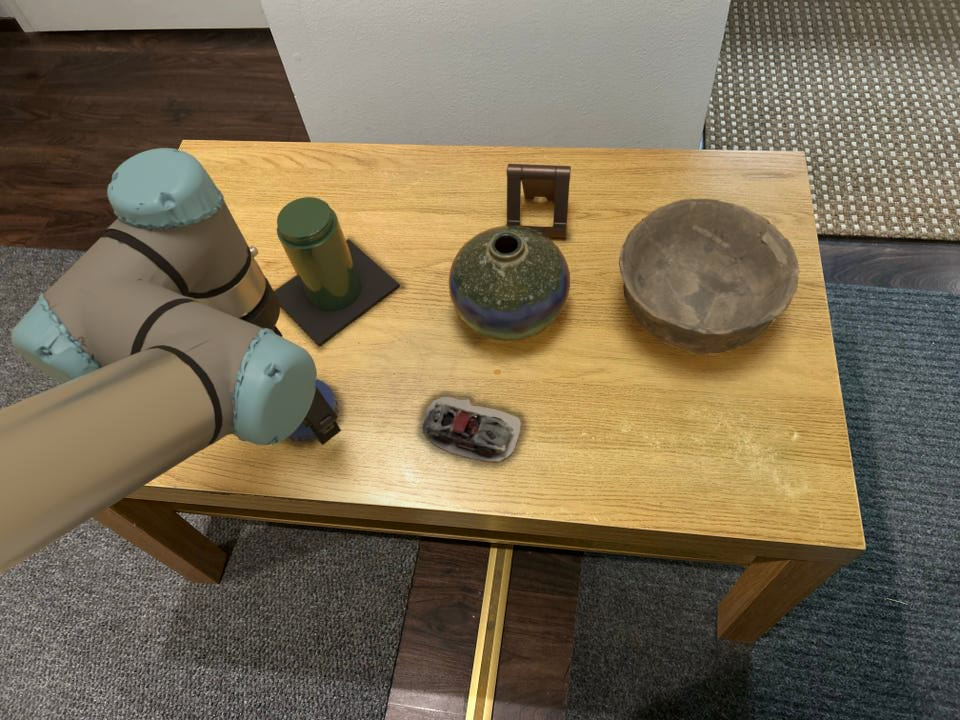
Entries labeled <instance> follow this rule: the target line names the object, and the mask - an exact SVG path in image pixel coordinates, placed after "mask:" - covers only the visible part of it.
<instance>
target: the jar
mask: <svg viewBox="0 0 960 720" xmlns="http://www.w3.org/2000/svg"><path fill="white" fill-rule="evenodd" d="M276 225H277V227H276V234H277V238H278V240H279V243H280V244H281V246H282V248H283V251H284V252H285V254H286V256H287V258H288V261H289V262H290V265H291V267H292V268H293V270H294V273H295V275H297V276H298V279H299V281H300V283H301V285H302V287H303V289H304V291H305V293H306V295H307V297H308V299H309V301H310V302H311V304H312V305H313V306H314V307H316V308H318V309H320V310H323V311H337V310H341V309H344V308H346V307H348V306H349V305H351V304H352V303H353V302H354V301H355V300H356V299H357V297H358V296H359V294H360V292H361V280H360V277H359V275H358V272H357V269H356V267H355V264H354V261H353V258H352V256H351V253H350V250H349V248H348V245H347V242H346V240H347V239H346V236H345V235H344V234H345V233H344V231H343V229H342V227H341V224H340V221H339V218H338V216H337V213H336V211H335V210H334V209H333V208H331V206H330V205H329V203H328V202H326V201H325V200H323V199H321V198H318V197H314V196H306V197H300V198H296V199H294V200H291V201H290V202H288V203H287V204H286V205H284V206H283V207H282V208H281V209H280V211H279V212H278V215H277V218H276Z"/></svg>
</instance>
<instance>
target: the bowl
mask: <svg viewBox="0 0 960 720" xmlns="http://www.w3.org/2000/svg"><path fill="white" fill-rule="evenodd" d="M619 252H620V253H619V259H618V267H619V272H620V276H621V279H622V282H623V283H622V293H623V298H624V301H625V304H626V307H627V308H628V310H629V312H630V314H631V315H632V317H633V319H634V320H635V322H636V323H637V324H638V325H639V327H641V328H642V329H643V330H644V332H646V333H647V334H648V335H649V336H651V337H652V338H653V339H656V340H658V341H659V342H661V343H664V344H666V345H669V346H670V347H672V348H675V349H679V350H682V351H684V352H687V353H689V354H690V353H691V354H693V355H695V356H705V355H707V356H708V355H716V354H724V353H728V352H732V351H735V350H738V349H739V348H741V347H744V346H748V345H749V344H752V343H753V342H755V341H757V340H758V339H759V338H760V337H762V335H764V334H765V333H766V331H767V330H768V329H769V328H770V327H771V325H772V324H773V323H774V320H776V319H777V318H778V317H780V316H781V315H783V314H784V312H785V311H786V310H787V309H788V307H789V306H790V305H791V303H792V301H793V299H794V296H795V294H796V292H797V290H798V285H799V274H800V265H799V260H798V257H797V255H796V252H795V249H794V248H793V245H792V243H791V241H790V240H789V239H788V238H786V237H785V236H784V234H783V233H782V232H781V231H780V230H779V229H778V228H777V227H776V225H774V224H772V223H771V222H770V220H769V219H767V218H766V217H764V216H762V215H759V214H758V213H757V212H754V211H752V210H751V209H749V208H747V207H746V206H743V205H739V204H736V203H732V202H728V201H722V200H719V199H713V198H692V197H689V198H684V199H680V200H679V199H678V200H676V201H673V202H670V203H667V204H665V205H662V206H659V207H658V208H656V209H654V210H652V211H651V212H650V213H648V214H647V215H646V216H644V217H643V218H642V220H640V221H639V222H637V223H636V224H635V225H634V227H633V228H632V229H631V230H630V232H629V233H628V234H627V235H626V238H625V240H624V242H623V244H622V246H621V248H620V251H619Z"/></svg>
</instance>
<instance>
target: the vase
mask: <svg viewBox="0 0 960 720" xmlns="http://www.w3.org/2000/svg"><path fill="white" fill-rule="evenodd" d="M522 226H523V225H522ZM522 226H505V225H501V226H495V227H491V228H487V229H486V230H483V231H481V232H479V233H477V234H475V235H474V236H473V237H471V238H470V239H469V240H468V241H466V242H465V243H464V245H462V246H461V247H460V249H459V250H458V252H457V253H456V254H455V257H454V259H453V261H452V263H451V266H450V269H449V274H448V291H449V296H450V300H451V303H452V306H453V307H454V310H455V312H456V313H457V315H458V316H459V317H460V319H461V320H462V321H463V322H464V323H465V324H466V326H468V328H470V329H471V330H473V331H475V332H476V333H477V334H478V335H481V336H483V337H486V338H489V339H491V340H495V341H502V342H515V341H522V340H527V339H530V338H532V337H535V336H537V335H539V334H541V333H542V332H544V331H545V330H547V329H548V328H549V327H550V326H551V325H553V324H554V323H555V321H556V320H557V319H558V318H559V316H561V314H562V312H563V310H564V308H565V306H566V304H567V301H568V299H569V294H570V289H571V274H570V269H569V265H568V261H567V260H566V257H565V255H564V253H563V252H562V250H561V249H560V248H559V246H558V245H557V244H556V243H555V242H554V241H553V240H552V239H551V238H550V237H546V236H545V235H543V234H541V233H539V232H538V231H535V230H533V229H530V228H526V227H522Z"/></svg>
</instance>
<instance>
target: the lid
mask: <svg viewBox="0 0 960 720" xmlns="http://www.w3.org/2000/svg"><path fill="white" fill-rule="evenodd" d="M315 386H316V387H317V388H318V390H319V391H320V393H321V394H322V395H323V397H324V398H325V400H326V401H327V402H328V404H329V405H330V407H331V408H332V409H333V411H335V412H336V413H337V415H338V414H339V405H340V404H339V402H338V399H337V396H336V394H335V393H334V391H333V390H332V388H331V387H330V386H329V385H328V384H327V383H326V382H324V381H323V380H320V379H318V378H316V383H315ZM304 421H305V419H304V420H303V421H302V422H304ZM316 439H317V437H316V436H315V434H314V433H313V431H312V430H311V428H310V427H308V428H307V429H306V428H305V427H304V426H303V424H302V423H301V424H300V425H299V426H298V428H297V429H296V430H295V431H294V432H293V433H292V434H291V435H290V436H289V437H287V438H286V440H289V441H291V442H296V443H306V442H311V441H314V440H316ZM317 440H318V439H317Z"/></svg>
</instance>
